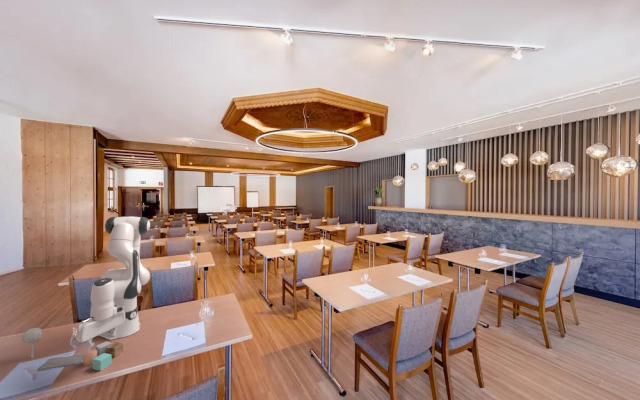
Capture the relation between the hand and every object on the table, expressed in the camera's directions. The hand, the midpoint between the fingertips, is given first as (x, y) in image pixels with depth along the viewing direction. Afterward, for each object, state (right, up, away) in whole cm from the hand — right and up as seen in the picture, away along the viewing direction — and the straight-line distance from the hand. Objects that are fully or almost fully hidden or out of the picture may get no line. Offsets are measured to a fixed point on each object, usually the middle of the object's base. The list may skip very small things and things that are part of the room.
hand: (102, 341), depth 122 cm
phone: (-22, -13, +3) cm, 26 cm away
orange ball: (-9, -13, +3) cm, 16 cm away
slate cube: (-8, -13, +10) cm, 18 cm away
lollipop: (-42, -12, +7) cm, 44 cm away
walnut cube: (-2, -13, +10) cm, 16 cm away
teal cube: (0, -13, 0) cm, 13 cm away
